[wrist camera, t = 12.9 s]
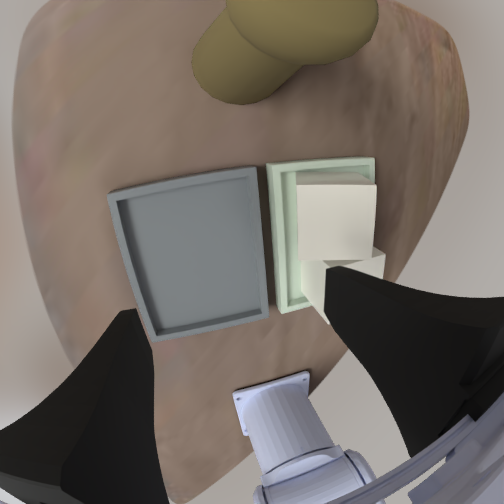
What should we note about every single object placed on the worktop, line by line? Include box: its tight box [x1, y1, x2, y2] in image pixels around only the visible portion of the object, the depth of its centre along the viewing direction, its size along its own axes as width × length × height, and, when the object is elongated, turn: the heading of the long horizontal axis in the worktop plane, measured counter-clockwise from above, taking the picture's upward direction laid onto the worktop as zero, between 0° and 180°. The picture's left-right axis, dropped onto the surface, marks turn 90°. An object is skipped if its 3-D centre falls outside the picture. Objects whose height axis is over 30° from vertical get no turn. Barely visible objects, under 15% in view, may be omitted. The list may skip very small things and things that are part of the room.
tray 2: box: [266, 156, 375, 314], centre depth 20 cm, size 11×8×1 cm
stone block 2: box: [301, 247, 386, 325], centre depth 19 cm, size 4×4×4 cm
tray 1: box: [107, 165, 269, 342], centre depth 18 cm, size 11×9×1 cm
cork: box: [192, 0, 378, 105], centre depth 9 cm, size 6×6×11 cm
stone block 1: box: [295, 172, 377, 261], centre depth 16 cm, size 4×4×4 cm
